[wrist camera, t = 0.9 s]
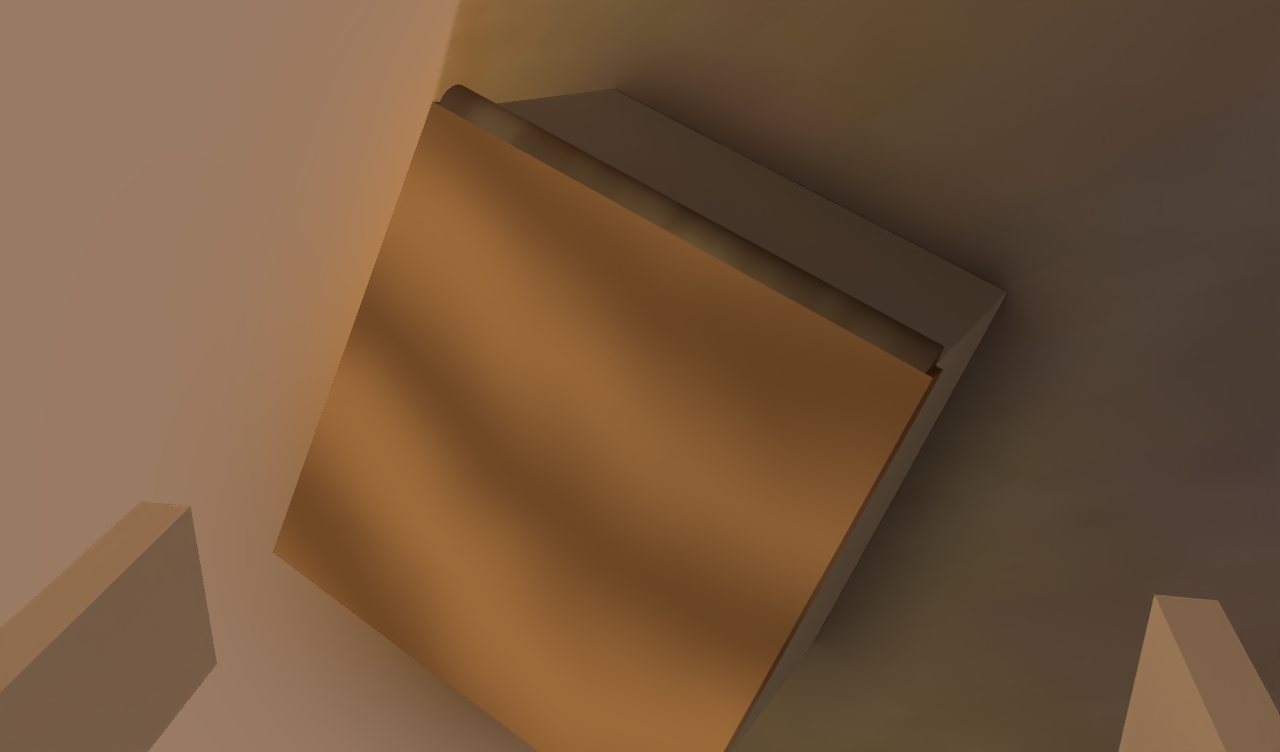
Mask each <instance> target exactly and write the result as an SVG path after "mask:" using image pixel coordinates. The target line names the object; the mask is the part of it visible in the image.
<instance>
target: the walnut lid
mask: <svg viewBox="0 0 1280 752" xmlns="http://www.w3.org/2000/svg"><path fill="white" fill-rule="evenodd" d="M943 349H944V346H943V345H941V344H939V343H937V342H935V341H934V340H932V339H930V338H928V337H926V336H924V335H923V334H921V333H919V332H917V331H915V330H913V329H911V328H910V327H908V326H906V325H904V324H902V323H900V322H899V321H897V320H895V319H893V318H891V317H889V316H887V315H886V314H884V313H882V312H880V311H878V310H876V309H875V308H873V307H871V306H869V305H867V304H865V303H863V302H862V301H860V300H858V299H856V298H854V297H852V296H851V295H849V294H847V293H845V292H843V291H841V290H839V289H838V288H836V287H834V286H832V285H830V284H828V283H826V282H825V281H823V280H821V279H819V278H817V277H815V276H814V275H812V274H810V273H808V272H806V271H804V270H802V269H801V268H799V267H797V266H795V265H793V264H791V263H790V262H788V261H786V260H784V259H782V258H780V257H778V256H777V255H775V254H773V253H771V252H769V251H767V250H766V249H764V248H762V247H760V246H758V245H756V244H754V243H753V242H751V241H749V240H747V239H745V238H743V237H741V236H740V235H738V234H736V233H734V232H732V231H730V230H729V229H727V228H725V227H723V226H721V225H719V224H717V223H716V222H714V221H712V220H710V219H708V218H706V217H705V216H703V215H701V214H699V213H697V212H695V211H693V210H692V209H690V208H688V207H686V206H684V205H682V204H681V203H679V202H677V201H675V200H673V199H671V198H669V197H668V196H666V195H664V194H662V193H660V192H658V191H656V190H655V189H653V188H651V187H649V186H647V185H645V184H644V183H642V182H640V181H638V180H636V179H634V178H632V177H631V176H629V175H627V174H625V173H623V172H621V171H620V170H618V169H616V168H614V167H612V166H610V165H608V164H607V163H605V162H603V161H601V160H599V159H597V158H596V157H594V156H592V155H590V154H588V153H586V152H584V151H583V150H581V149H579V148H577V147H575V146H573V145H572V144H570V143H568V142H566V141H564V140H562V139H560V138H559V137H557V136H555V135H553V134H551V133H549V132H547V131H546V130H544V129H542V128H540V127H538V126H536V125H535V124H533V123H531V122H529V121H527V120H525V119H523V118H522V117H520V116H518V115H516V114H514V113H512V112H511V111H509V110H507V109H505V108H503V107H501V106H499V105H498V104H496V103H494V102H492V101H490V100H488V99H487V98H485V97H483V96H481V95H479V94H477V93H475V92H474V91H472V90H470V89H468V88H466V87H464V86H462V85H454V86H452V87H451V88H450V89H448V90H447V92H446V93H445V94H444V95H443V97H442V99H441V101H440V102H432V105H431V108H430V111H429V113H428V116H427V119H426V122H425V125H424V128H423V130H422V133H421V136H420V139H419V142H418V145H417V147H416V150H415V153H414V156H413V159H412V161H411V165H410V167H409V170H408V173H407V176H406V178H405V181H404V184H403V187H402V190H401V192H400V195H399V198H398V201H397V204H396V207H395V209H394V212H393V215H392V218H391V221H390V223H389V227H388V229H387V232H386V235H385V238H384V240H383V243H382V246H381V249H380V252H379V255H378V258H377V260H376V263H375V266H374V269H373V271H372V274H371V277H370V280H369V283H368V285H367V288H366V291H365V294H364V297H363V300H362V303H361V305H360V308H359V311H358V314H357V317H356V320H355V322H354V325H353V328H352V331H351V334H350V336H349V339H348V342H347V345H346V348H345V350H344V353H343V356H342V359H341V362H340V364H339V367H338V370H337V373H336V376H335V379H334V382H333V384H332V387H331V390H330V393H329V396H328V398H327V401H326V404H325V407H324V410H323V412H322V415H321V418H320V421H319V424H318V426H317V429H316V432H315V435H314V438H313V441H312V444H311V446H310V449H309V452H308V455H307V457H306V460H305V463H304V466H303V469H302V472H301V475H300V477H299V480H298V483H297V486H296V488H295V491H294V494H293V497H292V500H291V503H290V505H289V508H288V511H287V514H286V517H285V520H284V523H283V525H282V528H281V531H280V534H279V536H278V539H277V542H276V545H275V548H274V551H273V553H275V554H276V555H277V556H279V557H280V558H281V559H283V560H284V561H285V562H287V563H288V564H289V565H291V566H292V567H293V568H295V569H296V570H297V571H299V572H300V573H301V574H303V575H304V576H305V577H307V578H308V579H309V580H311V581H312V582H313V583H315V584H316V585H317V586H319V587H320V588H321V589H322V590H324V591H325V592H327V593H328V594H329V595H331V596H332V597H333V598H334V599H336V600H337V601H339V602H340V603H341V604H342V605H344V606H345V607H346V608H348V609H349V610H350V611H352V612H353V613H354V614H356V615H357V616H358V617H360V618H361V619H362V620H364V621H365V622H366V623H368V624H369V625H370V626H372V627H373V628H374V629H376V630H377V631H378V632H380V633H381V634H382V635H384V636H385V637H386V638H388V639H389V640H390V641H392V642H393V643H394V644H396V645H397V646H398V647H400V648H401V649H402V650H404V651H405V652H406V653H408V654H409V655H411V657H413V658H414V659H416V660H417V661H418V662H419V663H421V664H422V665H424V666H425V667H426V668H427V669H429V670H430V671H431V672H433V673H434V674H436V675H437V676H438V677H440V678H441V679H442V680H443V681H445V682H446V683H447V684H449V685H450V686H451V687H453V688H454V689H455V690H457V691H458V692H460V693H461V694H462V695H463V696H465V697H466V698H467V699H469V700H470V701H471V702H473V703H474V704H475V705H477V706H478V707H479V708H481V709H482V710H483V711H485V712H486V713H487V714H489V715H490V716H491V717H493V718H494V719H495V720H497V721H498V722H499V723H500V724H502V725H504V727H506V728H507V729H508V730H510V731H511V732H512V733H514V734H515V735H517V736H518V737H519V738H520V739H522V740H523V741H525V742H526V743H527V744H529V745H530V746H531V747H532V748H534V749H535V750H536V751H538V752H729V750H730V749H731V747H732V745H733V743H734V741H735V740H736V738H737V736H738V734H739V733H740V731H741V729H742V727H743V725H744V724H745V722H746V720H747V718H748V716H749V715H750V713H751V711H752V709H753V708H754V706H755V704H756V702H757V700H758V699H759V697H760V695H761V693H762V692H763V690H764V688H765V686H766V684H767V683H768V681H769V679H770V677H771V676H772V674H773V672H774V670H775V668H776V667H777V665H778V663H779V661H780V660H781V658H782V656H783V654H784V652H785V651H786V649H787V647H788V645H789V643H790V642H791V640H792V638H793V636H794V635H795V633H796V631H797V629H798V627H799V626H800V624H801V622H802V620H803V619H804V617H805V615H806V613H807V611H808V610H809V608H810V606H811V604H812V603H813V601H814V599H815V597H816V595H817V594H818V592H819V590H820V588H821V587H822V585H823V583H824V581H825V579H826V578H827V576H828V574H829V572H830V570H831V569H832V567H833V565H834V563H835V562H836V560H837V558H838V556H839V554H840V553H841V551H842V549H843V547H844V546H845V544H846V542H847V540H848V538H849V537H850V535H851V533H852V531H853V530H854V528H855V526H856V524H857V522H858V521H859V519H860V517H861V515H862V514H863V512H864V510H865V508H866V506H867V505H868V503H869V501H870V499H871V497H872V496H873V494H874V492H875V490H876V489H877V487H878V485H879V483H880V481H881V480H882V478H883V476H884V474H885V473H886V471H887V469H888V467H889V465H890V464H891V462H892V460H893V458H894V457H895V455H896V453H897V451H898V449H899V448H900V446H901V444H902V442H903V441H904V439H905V437H906V435H907V433H908V432H909V430H910V428H911V426H912V425H913V423H914V421H915V419H916V417H917V416H918V414H919V412H920V410H921V408H922V407H923V405H924V403H925V401H926V400H927V398H928V396H929V394H930V392H931V391H932V389H933V387H934V385H935V384H936V382H937V380H938V378H939V376H940V375H941V373H942V371H943V369H941V368H939V367H937V366H935V365H936V363H937V362H938V360H939V358H940V356H941V354H942V351H943Z"/></svg>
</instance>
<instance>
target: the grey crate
mask: <svg viewBox="0 0 1280 752" xmlns="http://www.w3.org/2000/svg"><path fill="white" fill-rule="evenodd" d="M498 105H499V106H501V107H503V108H505V109H507V110H509V111H511V112H512V113H514V114H516V115H518V116H520V117H522V118H523V119H525V120H527V121H529V122H531V123H533V124H535V125H536V126H538V127H540V128H542V129H544V130H546V131H547V132H549V133H551V134H553V135H555V136H557V137H559V138H560V139H562V140H564V141H566V142H568V143H570V144H572V145H573V146H575V147H577V148H579V149H581V150H583V151H584V152H586V153H588V154H590V155H592V156H594V157H596V158H597V159H599V160H601V161H603V162H605V163H607V164H608V165H610V166H612V167H614V168H616V169H618V170H620V171H621V172H623V173H625V174H627V175H629V176H631V177H632V178H634V179H636V180H638V181H640V182H642V183H644V184H645V185H647V186H649V187H651V188H653V189H655V190H656V191H658V192H660V193H662V194H664V195H666V196H668V197H669V198H671V199H673V200H675V201H677V202H679V203H681V204H682V205H684V206H686V207H688V208H690V209H692V210H693V211H695V212H697V213H699V214H701V215H703V216H705V217H706V218H708V219H710V220H712V221H714V222H716V223H717V224H719V225H721V226H723V227H725V228H727V229H729V230H730V231H732V232H734V233H736V234H738V235H740V236H741V237H743V238H745V239H747V240H749V241H751V242H753V243H754V244H756V245H758V246H760V247H762V248H764V249H766V250H767V251H769V252H771V253H773V254H775V255H777V256H778V257H780V258H782V259H784V260H786V261H788V262H790V263H791V264H793V265H795V266H797V267H799V268H801V269H802V270H804V271H806V272H808V273H810V274H812V275H814V276H815V277H817V278H819V279H821V280H823V281H825V282H826V283H828V284H830V285H832V286H834V287H836V288H838V289H839V290H841V291H843V292H845V293H847V294H849V295H851V296H852V297H854V298H856V299H858V300H860V301H862V302H863V303H865V304H867V305H869V306H871V307H873V308H875V309H876V310H878V311H880V312H882V313H884V314H886V315H887V316H889V317H891V318H893V319H895V320H897V321H899V322H900V323H902V324H904V325H906V326H908V327H910V328H911V329H913V330H915V331H917V332H919V333H921V334H923V335H924V336H926V337H928V338H930V339H932V340H934V341H935V342H937V343H939V344H941V345H943V346H944V349H943V351H942V354H941V356H940V358H939V360H938V362H937V363H936V365H935V366H937V367H939V368H941V369H943V371H942V373H941V375H940V376H939V378H938V380H937V382H936V384H935V385H934V387H933V389H932V391H931V392H930V394H929V396H928V398H927V400H926V401H925V403H924V405H923V407H922V408H921V410H920V412H919V414H918V416H917V417H916V419H915V421H914V423H913V425H912V426H911V428H910V430H909V432H908V433H907V435H906V437H905V439H904V441H903V442H902V444H901V446H900V448H899V449H898V451H897V453H896V455H895V457H894V458H893V460H892V462H891V464H890V465H889V467H888V469H887V471H886V473H885V474H884V476H883V478H882V480H881V481H880V483H879V485H878V487H877V489H876V490H875V492H874V494H873V496H872V497H871V499H870V501H869V503H868V505H867V506H866V508H865V510H864V512H863V514H862V515H861V517H860V519H859V521H858V522H857V524H856V526H855V528H854V530H853V531H852V533H851V535H850V537H849V538H848V540H847V542H846V544H845V546H844V547H843V549H842V551H841V553H840V554H839V556H838V558H837V560H836V562H835V563H834V565H833V567H832V569H831V570H830V572H829V574H828V576H827V578H826V579H825V581H824V583H823V585H822V587H821V588H820V590H819V592H818V594H817V595H816V597H815V599H814V601H813V603H812V604H811V606H810V608H809V610H808V611H807V613H806V615H805V617H804V619H803V620H802V622H801V624H800V626H799V627H798V629H797V631H796V633H795V635H794V636H793V638H792V640H791V642H790V643H789V645H788V647H787V649H786V651H785V652H784V654H783V656H782V658H781V660H780V661H779V663H778V665H777V667H776V668H775V670H774V672H773V674H772V676H771V677H770V679H769V681H768V683H767V684H766V686H765V688H764V690H763V692H762V693H761V695H760V697H759V699H758V700H757V702H756V704H755V706H754V708H753V709H752V711H751V713H750V715H749V716H748V718H747V720H746V722H745V724H744V725H743V727H742V729H741V731H740V733H739V734H738V736H737V738H736V740H735V741H734V743H733V745H732V747H731V749H730V750H729V752H732V751H733V750H734V748H735V747H736V745H737V744H738V743H739V741H740V740H741V739H742V737H743V736H744V735H745V733H746V732H747V731H748V729H749V728H750V727H751V725H752V724H753V723H754V721H755V720H756V719H757V717H758V716H759V715H760V713H761V712H762V711H763V709H764V708H765V707H766V705H767V704H768V703H769V701H770V700H771V699H772V697H773V696H774V695H775V693H776V692H777V691H778V689H779V688H780V687H781V685H782V684H783V683H784V681H785V680H786V679H787V677H788V676H789V675H790V673H791V672H792V671H793V669H794V668H795V667H796V665H797V664H798V663H799V661H800V660H801V659H802V657H803V656H804V655H805V653H806V652H807V651H808V649H809V648H810V647H811V645H812V644H813V642H814V641H815V639H816V637H817V635H818V633H819V631H820V630H821V628H822V626H823V624H824V622H825V621H826V619H827V617H828V615H829V613H830V612H831V610H832V608H833V606H834V604H835V603H836V601H837V599H838V597H839V595H840V594H841V592H842V590H843V588H844V586H845V585H846V583H847V581H848V579H849V577H850V576H851V574H852V572H853V570H854V568H855V567H856V565H857V563H858V561H859V559H860V558H861V556H862V554H863V552H864V550H865V549H866V547H867V545H868V543H869V541H870V539H871V538H872V536H873V534H874V532H875V530H876V529H877V527H878V525H879V523H880V521H881V520H882V518H883V516H884V514H885V512H886V511H887V509H888V507H889V505H890V503H891V502H892V500H893V498H894V496H895V494H896V493H897V491H898V489H899V487H900V485H901V484H902V482H903V480H904V478H905V476H906V475H907V473H908V471H909V469H910V467H911V466H912V464H913V462H914V460H915V458H916V457H917V455H918V453H919V451H920V449H921V447H922V446H923V444H924V442H925V440H926V438H927V437H928V435H929V433H930V431H931V429H932V428H933V426H934V424H935V422H936V420H937V419H938V417H939V415H940V413H941V411H942V410H943V408H944V406H945V404H946V402H947V401H948V399H949V397H950V395H951V393H952V392H953V390H954V388H955V386H956V384H957V383H958V381H959V379H960V377H961V375H962V374H963V372H964V370H965V368H966V366H967V365H968V363H969V361H970V359H971V357H972V355H973V354H974V352H975V350H976V348H977V346H978V345H979V343H980V341H981V339H982V337H983V336H984V334H985V332H986V330H987V328H988V327H989V325H990V323H991V321H992V319H993V318H994V316H995V314H996V312H997V310H998V309H999V307H1000V305H1001V303H1002V301H1003V300H1004V298H1005V296H1006V294H1007V292H1006V291H1004V290H1002V289H1000V288H999V287H997V286H995V285H993V284H991V283H989V282H987V281H985V280H983V279H981V278H979V277H977V276H975V275H973V274H971V273H969V272H967V271H966V270H964V269H962V268H960V267H958V266H956V265H954V264H952V263H950V262H948V261H946V260H944V259H942V258H940V257H938V256H936V255H934V254H933V253H931V252H929V251H927V250H925V249H923V248H921V247H919V246H917V245H915V244H913V243H911V242H909V241H907V240H905V239H903V238H902V237H900V236H898V235H896V234H894V233H892V232H890V231H888V230H886V229H884V228H882V227H880V226H878V225H876V224H874V223H872V222H870V221H869V220H867V219H865V218H863V217H861V216H859V215H857V214H855V213H853V212H851V211H849V210H847V209H845V208H843V207H841V206H839V205H837V204H836V203H834V202H832V201H830V200H828V199H826V198H824V197H822V196H820V195H818V194H816V193H814V192H812V191H810V190H808V189H806V188H805V187H803V186H801V185H799V184H797V183H795V182H793V181H791V180H789V179H787V178H785V177H783V176H781V175H779V174H777V173H775V172H773V171H772V170H770V169H768V168H766V167H764V166H762V165H760V164H758V163H756V162H754V161H752V160H750V159H748V158H746V157H744V156H742V155H740V154H739V153H737V152H735V151H733V150H731V149H729V148H727V147H725V146H723V145H721V144H719V143H717V142H715V141H713V140H711V139H709V138H707V137H706V136H704V135H702V134H700V133H698V132H696V131H694V130H692V129H690V128H688V127H686V126H684V125H682V124H680V123H678V122H676V121H675V120H673V119H671V118H669V117H667V116H665V115H663V114H661V113H659V112H657V111H655V110H653V109H651V108H649V107H647V106H645V105H643V104H642V103H640V102H638V101H636V100H634V99H632V98H630V97H628V96H626V95H624V94H622V93H620V92H618V91H616V90H614V89H612V90H604V91H595V92H587V93H579V94H571V95H563V96H555V97H546V98H538V99H530V100H522V101H514V102H506V103H498Z"/></svg>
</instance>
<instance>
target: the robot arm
mask: <svg viewBox="0 0 1280 752" xmlns="http://www.w3.org/2000/svg"><path fill="white" fill-rule="evenodd" d="M216 664H217V662H216V656H215V650H214V644H213V638H212V632H211V627H210V620H209V614H208V608H207V602H206V596H205V590H204V584H203V578H202V573H201V566H200V560H199V554H198V548H197V543H196V536H195V531H194V524H193V519H192V513H191V507H190V506H182V505H172V504H161V503H150V502H140V503H138V504H137V505H136V506H135V507H134V508H133V509H132V510H131V511H130V512H129V513H127V514H126V515H125V516H124V517H123V518H122V519H121V520H120V521H119V522H117V523H116V524H115V525H114V526H113V527H112V528H111V529H110V530H109V531H108V532H106V533H105V534H104V535H103V536H102V537H101V538H100V539H99V540H97V541H96V542H95V543H94V544H93V545H92V546H91V547H90V548H89V549H87V550H86V551H85V552H84V553H83V554H82V555H81V556H80V557H79V558H78V559H76V560H75V561H74V562H73V563H72V564H71V565H70V566H69V567H68V568H66V569H65V570H64V571H63V572H62V573H61V574H60V575H59V576H58V577H56V578H55V579H54V580H53V581H52V582H51V583H50V584H49V585H48V586H47V587H45V589H43V590H42V591H41V592H40V593H39V594H38V595H37V596H35V597H34V598H33V599H32V600H31V601H30V602H29V603H28V604H27V605H25V606H24V607H23V608H22V609H21V610H20V611H19V612H18V613H17V614H15V615H14V616H13V617H12V618H11V619H10V620H9V621H8V622H7V623H6V624H4V625H3V626H2V627H1V628H0V752H148V751H149V750H150V749H151V747H152V746H153V744H154V743H155V742H156V741H157V739H158V738H159V737H160V736H161V735H162V733H163V732H164V731H165V729H166V728H167V727H168V726H169V724H170V723H171V721H172V720H173V719H174V718H175V717H176V715H177V714H178V713H179V711H180V710H181V709H182V708H183V706H184V705H185V704H186V702H187V701H188V700H189V699H190V697H191V696H192V695H193V694H194V692H195V691H196V690H197V688H198V687H199V686H200V685H201V683H202V682H203V681H204V679H205V678H206V677H207V676H208V674H209V673H210V672H211V671H212V669H213V668H214V667H215V665H216ZM1119 752H1280V714H1279V713H1278V711H1277V709H1276V707H1275V705H1274V703H1273V701H1272V700H1271V698H1270V696H1269V694H1268V692H1267V690H1266V689H1265V687H1264V685H1263V683H1262V681H1261V679H1260V677H1259V676H1258V674H1257V672H1256V670H1255V668H1254V666H1253V664H1252V663H1251V661H1250V659H1249V657H1248V655H1247V653H1246V652H1245V650H1244V648H1243V646H1242V644H1241V642H1240V640H1239V639H1238V637H1237V635H1236V633H1235V631H1234V629H1233V627H1232V626H1231V624H1230V622H1229V620H1228V618H1227V616H1226V615H1225V613H1224V611H1223V609H1222V607H1221V605H1220V603H1219V602H1218V600H1208V599H1198V598H1187V597H1176V596H1165V595H1154V599H1153V603H1152V607H1151V612H1150V616H1149V620H1148V625H1147V629H1146V634H1145V638H1144V642H1143V647H1142V651H1141V655H1140V660H1139V664H1138V669H1137V673H1136V677H1135V682H1134V686H1133V690H1132V695H1131V699H1130V704H1129V708H1128V712H1127V717H1126V721H1125V725H1124V730H1123V734H1122V739H1121V743H1120V747H1119Z"/></svg>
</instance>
